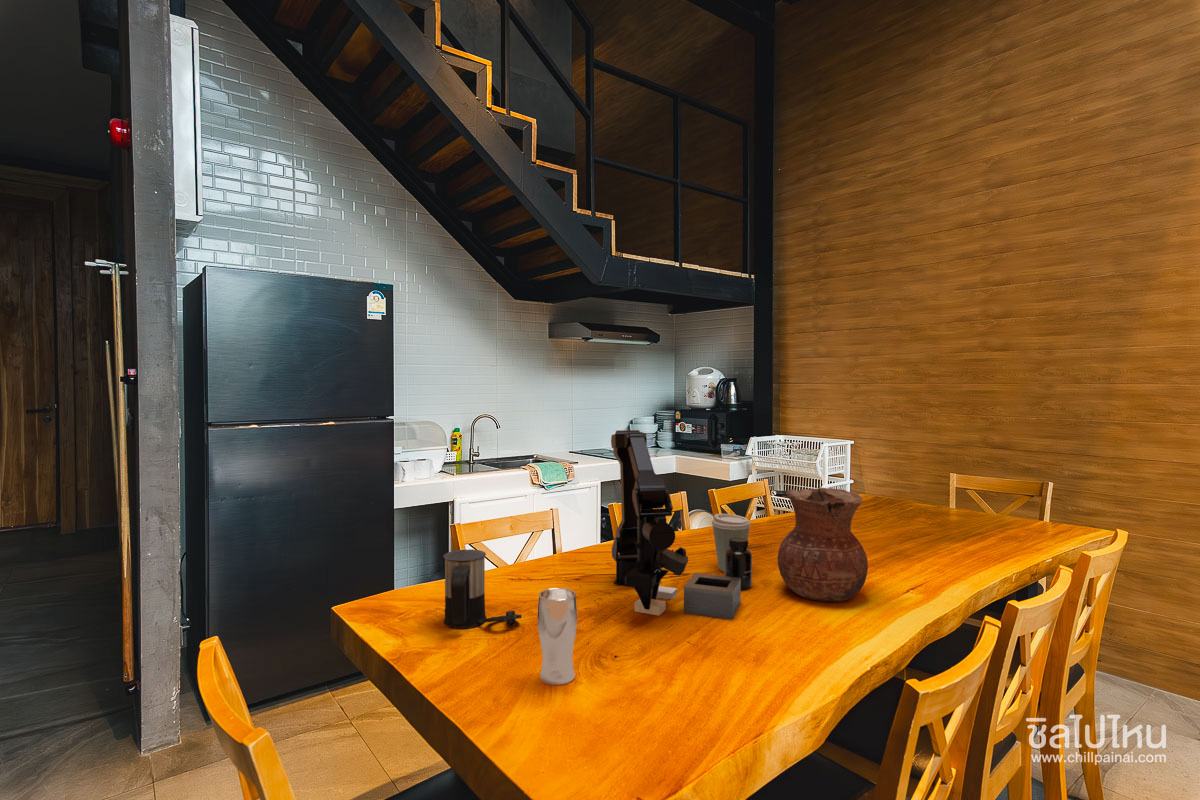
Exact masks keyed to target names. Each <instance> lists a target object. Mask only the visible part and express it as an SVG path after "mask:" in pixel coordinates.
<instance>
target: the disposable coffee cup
mask: <svg viewBox="0 0 1200 800" xmlns="http://www.w3.org/2000/svg"><path fill="white" fill-rule="evenodd" d="M711 525H712V529H713V537H714V545H715V552H716V559H717V565H718V567H719V570H720V571H721V572H724V573H725V552H726V550H727V549H729V548H730V547H729V539H730V538H745V539H747V540H748V541H749V534H750V528H751V521H750V520H749V519H748V518H747V517H744V516H741V515H738V514H731V513H716V514H715V515H713V519H712V520H711Z"/></svg>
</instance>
